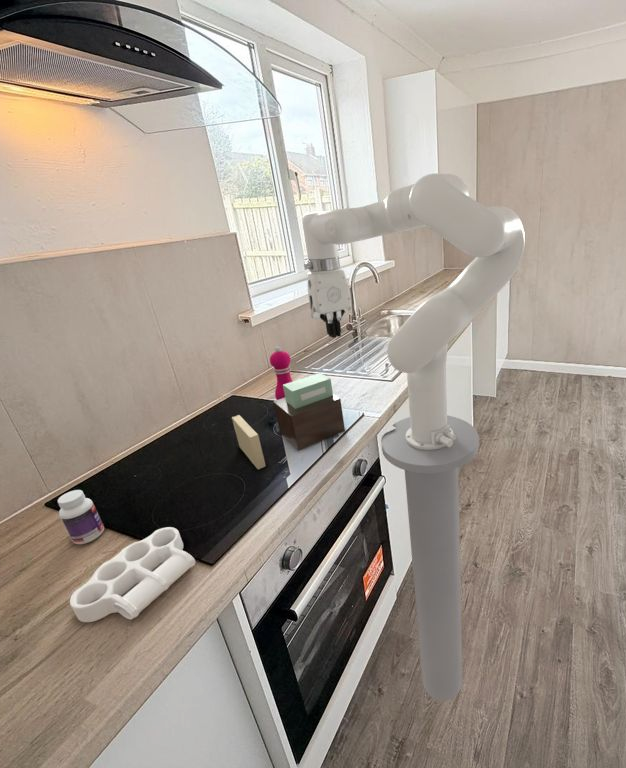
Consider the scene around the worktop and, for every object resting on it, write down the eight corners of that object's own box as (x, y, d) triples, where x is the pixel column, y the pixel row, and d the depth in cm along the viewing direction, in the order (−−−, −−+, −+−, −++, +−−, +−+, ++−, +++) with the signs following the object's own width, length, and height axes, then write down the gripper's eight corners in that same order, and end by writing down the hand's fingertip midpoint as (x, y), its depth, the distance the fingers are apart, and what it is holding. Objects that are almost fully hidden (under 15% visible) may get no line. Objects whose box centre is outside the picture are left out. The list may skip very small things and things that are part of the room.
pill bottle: (109, 531, 83) (91, 492, 79) (79, 549, 79) (58, 509, 75) (98, 522, 86) (80, 484, 82) (68, 538, 82) (48, 499, 78)
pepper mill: (274, 412, 127) (260, 351, 119) (283, 401, 134) (271, 343, 126) (296, 412, 126) (284, 350, 118) (304, 401, 133) (293, 342, 125)
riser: (345, 431, 113) (340, 398, 109) (298, 450, 106) (291, 416, 102) (324, 416, 122) (319, 385, 118) (280, 433, 115) (273, 401, 111)
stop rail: (266, 466, 100) (258, 434, 97) (258, 469, 99) (249, 437, 96) (247, 444, 111) (239, 414, 107) (239, 447, 110) (231, 417, 106)
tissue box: (322, 389, 116) (320, 372, 114) (333, 395, 111) (330, 378, 109) (286, 401, 110) (282, 384, 108) (295, 409, 105) (292, 391, 103)
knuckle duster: (115, 643, 61) (60, 609, 67) (212, 554, 75) (160, 533, 82) (106, 627, 59) (51, 594, 66) (207, 540, 74) (155, 519, 80)
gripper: (303, 271, 96) (315, 346, 103) (358, 261, 104) (366, 332, 111) (289, 268, 101) (302, 340, 109) (343, 260, 109) (351, 327, 117)
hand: (334, 335), depth 110 cm, fingers closed
